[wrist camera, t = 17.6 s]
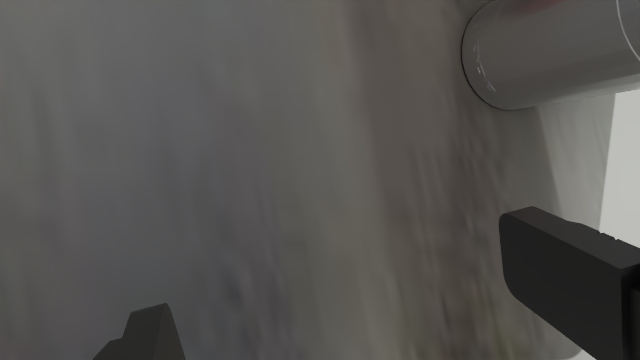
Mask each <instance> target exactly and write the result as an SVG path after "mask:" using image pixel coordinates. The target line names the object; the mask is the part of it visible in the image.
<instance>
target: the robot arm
mask: <svg viewBox="0 0 640 360" xmlns="http://www.w3.org/2000/svg"><path fill="white" fill-rule="evenodd" d="M462 61H463V65H464V70H465V74H466V76H467V78H468V80H469V83H470V85H471V86H472V87H473V89H474V90H475V92H476V93H477V94H478V95H479V96H480V97H481V98H482V99H483V100H484V101H485V102H487V103H488V104H490V105H492V106H493V107H496V108H499V109H502V110H517V109H523V108H529V107H535V106H541V105H547V104H554V103H560V102H566V101H572V100H578V99H584V98H590V97H596V96H601V95H607V94H613V93H619V92H625V91H631V90H637V89H640V0H495V1H493V2H491V3H489V4H487V5H486V6H484V7H483V8H481V9H480V10H479V11H478V12H477V13H476V14H475V15H474V16H473V17H472V19H471V20H470V22H469V24H468V26H467V28H466V31H465V34H464V37H463V44H462ZM499 233H500V244H501V254H502V264H503V274H504V279H505V282H506V284H507V287H508V289H509V290H510V292H511V293H512V295H513V296H514V297H515V298H516V299H517V300H519V301H520V302H521V303H523V304H524V305H525V306H527V307H528V308H529V309H531V310H532V311H533V312H535V313H536V314H537V315H538V316H540V317H541V318H542V319H544V320H545V321H546V322H548V323H549V324H550V325H552V326H553V327H554V328H556V329H557V330H558V331H560V332H561V333H562V334H563V335H565V336H566V337H567V338H569V339H570V340H571V341H573V342H574V343H575V344H577V345H578V346H579V347H581V348H582V349H583V350H585V351H586V352H587V353H588V354H590V355H591V356H592V357H594V358H595V359H596V360H640V248H638V247H635V246H633V245H631V244H628V243H626V242H623V241H621V240H619V239H617V240H615V239H614V237H612V236H609V235H607V234H605V233H600V232H599V231H598V230H595V229H593V228H590V227H588V226H586V225H583V224H580V223H575V222H570V221H566V220H564V219H562V218H559V217H557V216H555V215H552V214H550V213H548V212H546V211H543V210H541V209H539V208H536V207H533V206H531V207H527V208H523V209H519V210H516V211H512V212H508V213H505V214H502V215H501V217H500V219H499ZM93 360H186V359H185V356H184V353H183V349H182V346H181V343H180V339H179V336H178V333H177V329H176V326H175V323H174V319H173V316H172V313H171V310H170V308H169V306H168V304H167V303H164V304H160V305H157V306H153V307H149V308H145V309H142V310H138V311H134V312H131V314H130V316H129V319H128V322H127V325H126V328H125V331H124V334H123V337H122V338H120V339H117V340H113V341H109V342H108V344H107V345H106V346H105V347H104V348H103V349H102V350H101V351H100V352H99V353H98V354H97V355H96V356H95V357H94V358H93Z"/></svg>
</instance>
